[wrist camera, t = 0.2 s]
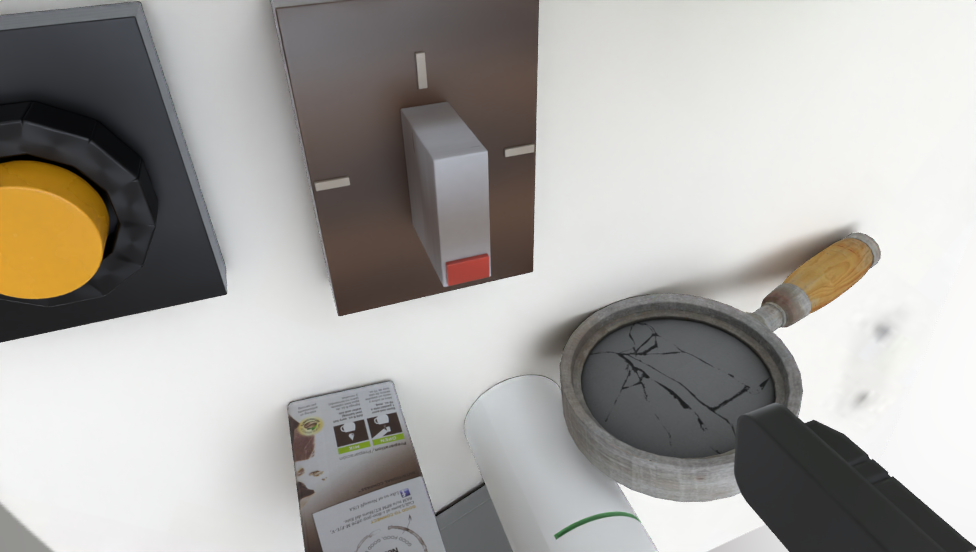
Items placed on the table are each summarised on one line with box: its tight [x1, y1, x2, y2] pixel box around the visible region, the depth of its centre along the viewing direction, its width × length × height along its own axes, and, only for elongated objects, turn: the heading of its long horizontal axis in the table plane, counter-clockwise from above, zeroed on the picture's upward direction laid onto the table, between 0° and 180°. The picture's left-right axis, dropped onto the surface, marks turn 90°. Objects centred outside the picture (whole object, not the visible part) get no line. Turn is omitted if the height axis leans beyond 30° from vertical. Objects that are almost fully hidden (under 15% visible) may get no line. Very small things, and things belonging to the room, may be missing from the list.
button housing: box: [0, 2, 227, 343], centre depth 25 cm, size 12×10×4 cm
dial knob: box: [400, 102, 491, 287], centre depth 26 cm, size 6×2×5 cm, turn 1°
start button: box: [0, 160, 109, 299], centre depth 23 cm, size 4×4×2 cm
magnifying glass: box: [560, 233, 881, 502], centre depth 40 cm, size 13×3×25 cm
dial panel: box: [270, 0, 539, 316], centre depth 29 cm, size 14×10×3 cm
